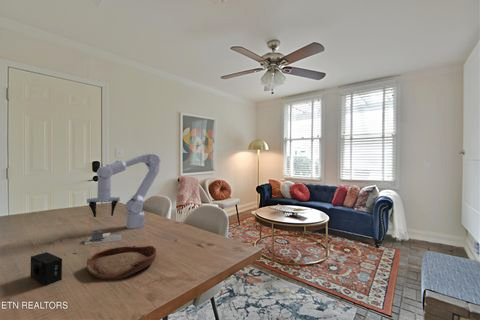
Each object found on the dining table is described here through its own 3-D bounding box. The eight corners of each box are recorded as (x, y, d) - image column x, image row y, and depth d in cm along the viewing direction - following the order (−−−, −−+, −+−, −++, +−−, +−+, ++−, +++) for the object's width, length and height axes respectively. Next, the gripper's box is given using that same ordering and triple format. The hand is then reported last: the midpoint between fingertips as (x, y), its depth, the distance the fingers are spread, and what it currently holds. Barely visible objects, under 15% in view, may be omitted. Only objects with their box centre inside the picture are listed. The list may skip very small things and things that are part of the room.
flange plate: (121, 237, 111) (121, 233, 111) (120, 242, 104) (120, 238, 104) (88, 240, 105) (88, 237, 105) (84, 246, 98) (84, 242, 98)
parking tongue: (110, 234, 114) (110, 232, 114) (109, 237, 110) (109, 235, 110) (103, 235, 113) (103, 233, 113) (102, 238, 108) (102, 236, 108)
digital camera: (25, 279, 71) (25, 257, 71) (46, 271, 76) (46, 251, 76) (40, 288, 66) (40, 265, 66) (61, 279, 71) (62, 258, 71)
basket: (75, 286, 68) (75, 270, 68) (97, 258, 88) (97, 245, 88) (153, 276, 75) (153, 261, 75) (157, 252, 94) (158, 240, 94)
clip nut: (101, 240, 106) (101, 229, 106) (102, 242, 103) (102, 231, 103) (91, 242, 104) (91, 231, 104) (92, 244, 100) (92, 233, 100)
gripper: (120, 188, 121) (120, 213, 121) (89, 189, 115) (88, 215, 115) (119, 190, 115) (118, 216, 115) (86, 191, 109) (85, 218, 109)
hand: (103, 216), depth 115 cm, fingers open, 7 cm apart
